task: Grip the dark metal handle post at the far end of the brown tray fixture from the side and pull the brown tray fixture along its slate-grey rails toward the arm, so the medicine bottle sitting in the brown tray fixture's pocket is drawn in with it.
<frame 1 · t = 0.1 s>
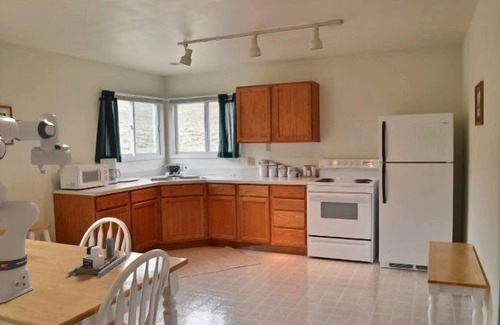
hand: (51, 173, 198), 48 cm above the table, tool pointing down, fingers open, 8 cm apart
brown tray fixture: (100, 254, 201), point 6 cm above the table, slide at 0.0 cm
guide rails: (99, 266, 200), on the table
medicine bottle: (93, 270, 194), resting in brown tray fixture
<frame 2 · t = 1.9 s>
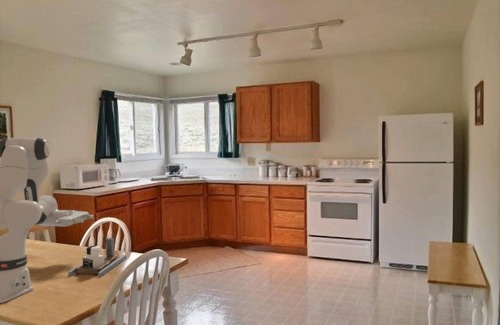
hand: (88, 218, 212), 22 cm above the table, tool horizontal, fingers open, 8 cm apart
nothing on the table moved.
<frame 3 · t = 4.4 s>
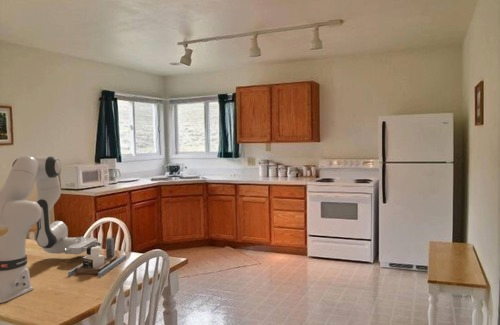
hand: (97, 246, 213), 7 cm above the table, tool horizontal, fingers open, 8 cm apart
nothing on the table moved.
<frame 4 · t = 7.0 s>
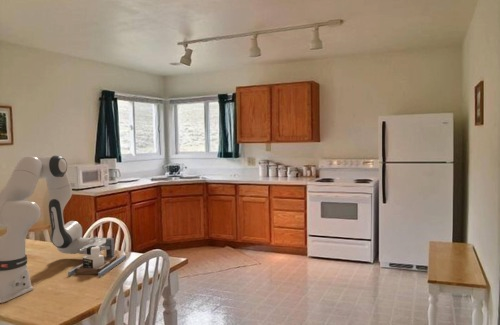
hand: (111, 246, 212), 7 cm above the table, tool horizontal, fingers closed on brown tray fixture, 3 cm apart
brown tray fixture: (99, 254, 201), point 6 cm above the table, slide at 0.0 cm, touching gripper
everything else where it was.
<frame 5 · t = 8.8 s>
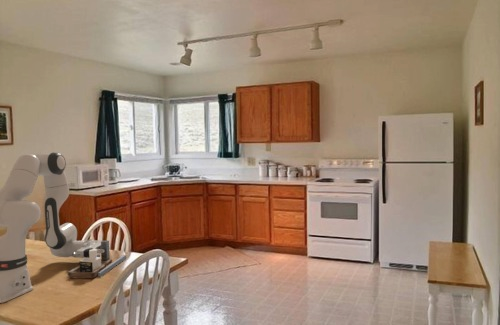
hand: (106, 249, 206), 7 cm above the table, tool horizontal, fingers open, 3 cm apart
brown tray fixture: (94, 257, 195), point 6 cm above the table, slide at 5.7 cm, touching gripper, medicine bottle
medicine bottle: (90, 273, 190), resting in brown tray fixture
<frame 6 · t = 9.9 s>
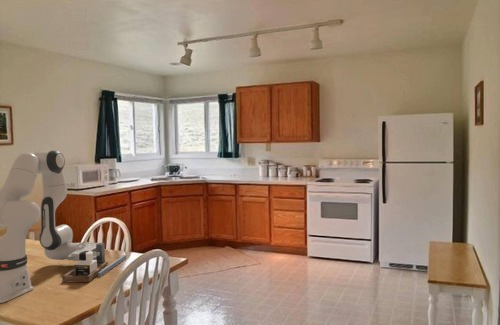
hand: (102, 252, 201), 7 cm above the table, tool horizontal, fingers closed on brown tray fixture, 3 cm apart
brown tray fixture: (89, 261, 190), point 6 cm above the table, slide at 10.7 cm, touching gripper, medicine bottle
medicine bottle: (86, 277, 185), resting in brown tray fixture
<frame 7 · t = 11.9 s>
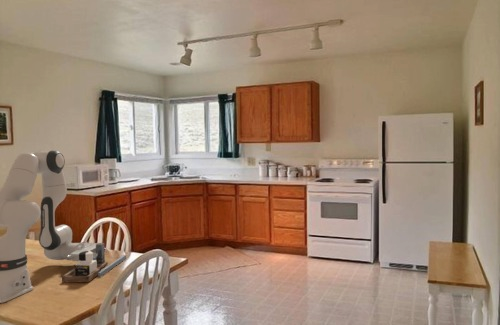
hand: (101, 252, 201), 7 cm above the table, tool horizontal, fingers open, 8 cm apart
brown tray fixture: (89, 261, 190), point 6 cm above the table, slide at 10.9 cm
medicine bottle: (86, 277, 185), resting in brown tray fixture
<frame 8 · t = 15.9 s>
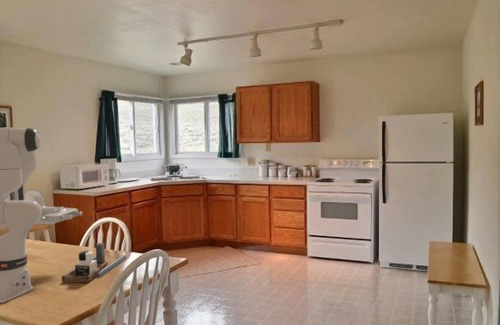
hand: (76, 215, 201), 26 cm above the table, tool horizontal, fingers open, 8 cm apart
nothing on the table moved.
at the end: brown tray fixture slide at 10.9 cm; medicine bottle moved 9.6 cm from its start; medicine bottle tilted 0° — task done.
